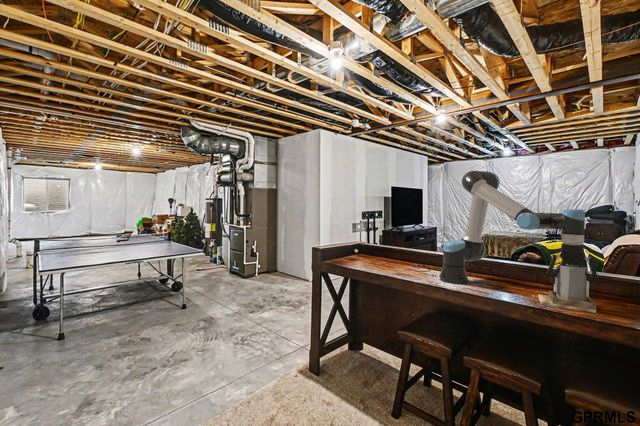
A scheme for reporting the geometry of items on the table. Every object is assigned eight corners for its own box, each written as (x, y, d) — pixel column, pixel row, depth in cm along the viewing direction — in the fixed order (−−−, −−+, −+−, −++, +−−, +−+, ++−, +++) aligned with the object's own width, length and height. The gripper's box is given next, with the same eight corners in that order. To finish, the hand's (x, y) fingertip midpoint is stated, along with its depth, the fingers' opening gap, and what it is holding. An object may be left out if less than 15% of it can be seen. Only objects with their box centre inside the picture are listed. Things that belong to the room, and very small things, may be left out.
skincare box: (572, 297, 131) (573, 263, 130) (587, 303, 124) (588, 267, 123) (554, 297, 130) (555, 263, 130) (568, 303, 123) (569, 267, 123)
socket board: (541, 304, 128) (541, 296, 127) (538, 296, 138) (538, 289, 138) (595, 312, 118) (596, 304, 118) (588, 303, 129) (588, 295, 129)
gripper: (541, 242, 129) (540, 291, 130) (610, 247, 117) (608, 300, 118) (539, 240, 136) (538, 287, 136) (604, 244, 123) (602, 295, 124)
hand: (570, 293), depth 127 cm, fingers closed on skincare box, 10 cm apart
